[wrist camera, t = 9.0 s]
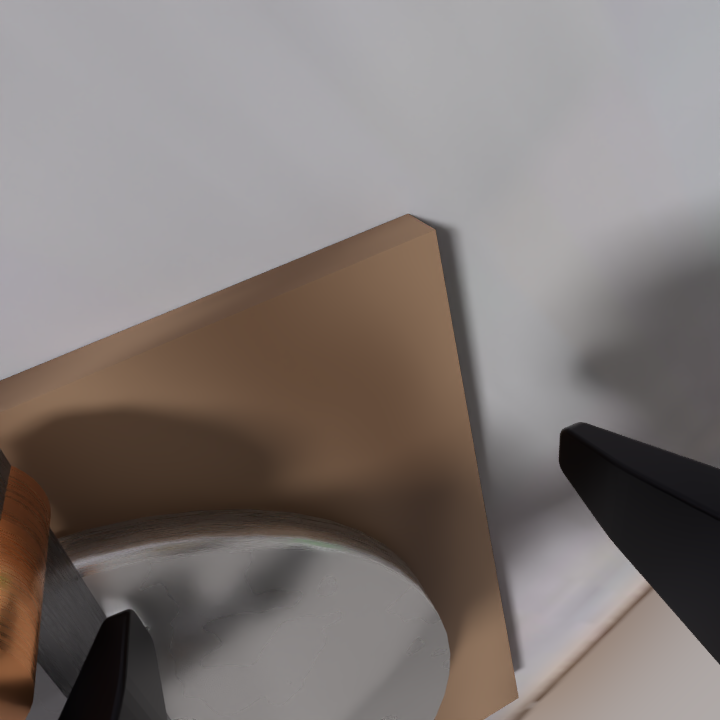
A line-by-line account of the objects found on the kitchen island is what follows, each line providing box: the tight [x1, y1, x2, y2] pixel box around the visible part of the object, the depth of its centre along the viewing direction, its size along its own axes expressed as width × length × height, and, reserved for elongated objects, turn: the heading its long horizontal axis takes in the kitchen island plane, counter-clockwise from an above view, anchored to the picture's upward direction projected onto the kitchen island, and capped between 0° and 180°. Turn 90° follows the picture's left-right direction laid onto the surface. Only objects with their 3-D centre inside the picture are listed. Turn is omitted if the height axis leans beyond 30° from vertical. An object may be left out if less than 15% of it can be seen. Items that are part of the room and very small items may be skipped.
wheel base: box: [0, 214, 519, 720], centre depth 16 cm, size 21×21×1 cm
